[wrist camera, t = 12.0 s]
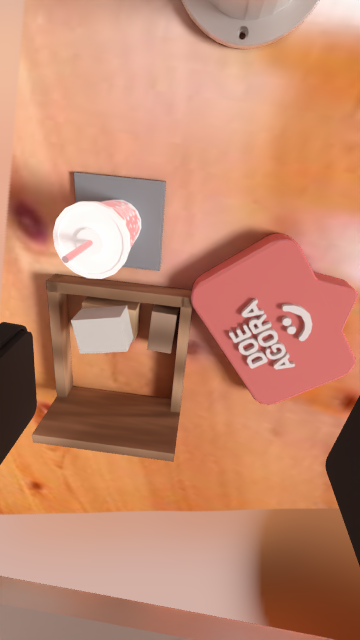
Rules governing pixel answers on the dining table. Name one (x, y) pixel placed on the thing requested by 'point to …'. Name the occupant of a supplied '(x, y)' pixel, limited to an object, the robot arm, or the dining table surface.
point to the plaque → (277, 319)
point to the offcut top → (103, 329)
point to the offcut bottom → (104, 302)
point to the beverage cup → (96, 236)
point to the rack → (108, 406)
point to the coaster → (144, 199)
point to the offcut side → (162, 328)
